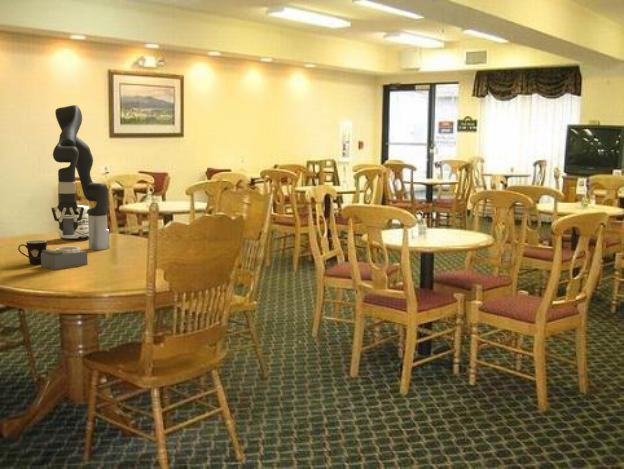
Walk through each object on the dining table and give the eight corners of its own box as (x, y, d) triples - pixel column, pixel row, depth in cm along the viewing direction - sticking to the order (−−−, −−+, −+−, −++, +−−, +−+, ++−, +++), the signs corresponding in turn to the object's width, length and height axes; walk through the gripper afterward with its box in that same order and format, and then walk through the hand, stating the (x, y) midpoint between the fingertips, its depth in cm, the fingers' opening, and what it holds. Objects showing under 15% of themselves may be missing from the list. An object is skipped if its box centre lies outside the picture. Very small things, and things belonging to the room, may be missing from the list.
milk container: (85, 242, 381) (84, 208, 379) (53, 241, 381) (52, 208, 379) (95, 237, 398) (95, 205, 396) (65, 236, 399) (64, 204, 396)
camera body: (73, 261, 325) (72, 245, 324) (87, 264, 319) (87, 248, 317) (41, 266, 313) (40, 249, 312) (55, 269, 306) (54, 252, 305)
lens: (62, 235, 317) (61, 215, 316) (74, 235, 319) (73, 215, 317) (62, 237, 312) (61, 217, 311) (75, 237, 314) (74, 216, 313)
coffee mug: (51, 262, 322) (51, 240, 320) (38, 266, 313) (37, 243, 312) (30, 260, 325) (30, 239, 324) (17, 264, 317) (16, 241, 316)
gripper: (83, 191, 319) (84, 228, 321) (49, 191, 313) (51, 229, 316) (84, 192, 312) (85, 231, 314) (49, 193, 307) (51, 232, 309)
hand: (68, 230), depth 315 cm, fingers closed on lens, 5 cm apart
